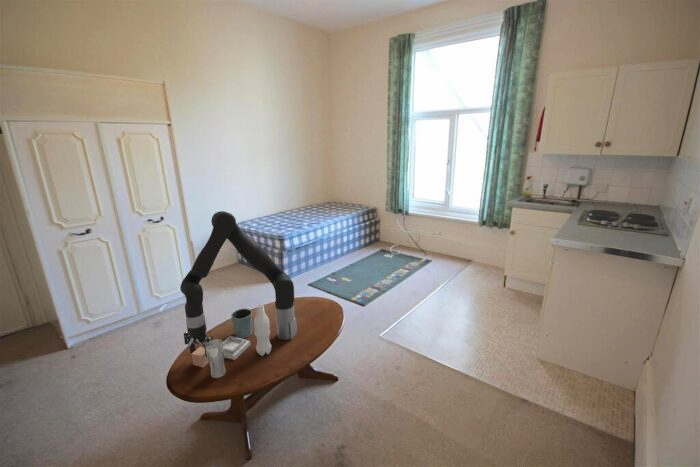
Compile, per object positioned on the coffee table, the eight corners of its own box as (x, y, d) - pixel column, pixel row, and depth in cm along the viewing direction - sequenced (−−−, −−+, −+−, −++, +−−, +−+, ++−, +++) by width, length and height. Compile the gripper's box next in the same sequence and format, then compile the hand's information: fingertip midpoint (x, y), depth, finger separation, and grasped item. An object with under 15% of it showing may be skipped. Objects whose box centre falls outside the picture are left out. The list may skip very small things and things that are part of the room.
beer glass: (212, 368, 141) (208, 339, 137) (228, 367, 142) (225, 338, 138) (207, 379, 135) (202, 349, 130) (224, 378, 135) (220, 348, 131)
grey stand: (250, 344, 158) (249, 338, 157) (234, 359, 147) (234, 353, 146) (230, 340, 161) (229, 334, 160) (213, 354, 150) (212, 348, 149)
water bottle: (258, 359, 147) (253, 311, 140) (255, 350, 153) (250, 304, 146) (273, 354, 150) (269, 307, 143) (269, 346, 157) (266, 300, 150)
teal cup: (254, 337, 164) (252, 316, 161) (233, 341, 161) (231, 320, 157) (253, 326, 173) (251, 307, 170) (233, 330, 170) (231, 310, 166)
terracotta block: (211, 359, 147) (210, 348, 145) (203, 367, 142) (201, 356, 140) (202, 357, 149) (200, 346, 147) (193, 364, 144) (191, 353, 142)
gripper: (215, 321, 141) (219, 352, 145) (190, 315, 145) (194, 346, 150) (202, 330, 134) (207, 363, 139) (176, 324, 138) (181, 355, 143)
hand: (200, 354), depth 144 cm, fingers open, 8 cm apart
